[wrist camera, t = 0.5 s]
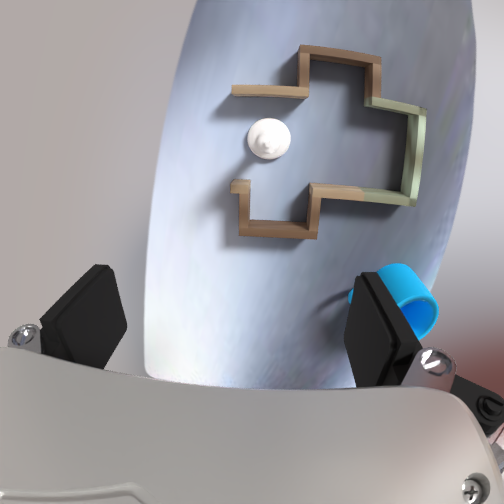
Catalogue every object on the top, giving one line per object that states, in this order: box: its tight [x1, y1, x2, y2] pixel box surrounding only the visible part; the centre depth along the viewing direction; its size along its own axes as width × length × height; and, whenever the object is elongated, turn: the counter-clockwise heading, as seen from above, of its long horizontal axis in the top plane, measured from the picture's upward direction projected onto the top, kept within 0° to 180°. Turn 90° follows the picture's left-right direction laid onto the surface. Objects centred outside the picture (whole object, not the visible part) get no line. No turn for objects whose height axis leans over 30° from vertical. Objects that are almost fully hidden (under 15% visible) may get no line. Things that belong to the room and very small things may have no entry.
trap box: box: [230, 45, 427, 239], centre depth 30 cm, size 22×22×3 cm
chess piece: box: [247, 118, 290, 159], centre depth 27 cm, size 5×5×10 cm
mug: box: [348, 263, 439, 340], centre depth 35 cm, size 12×8×8 cm
